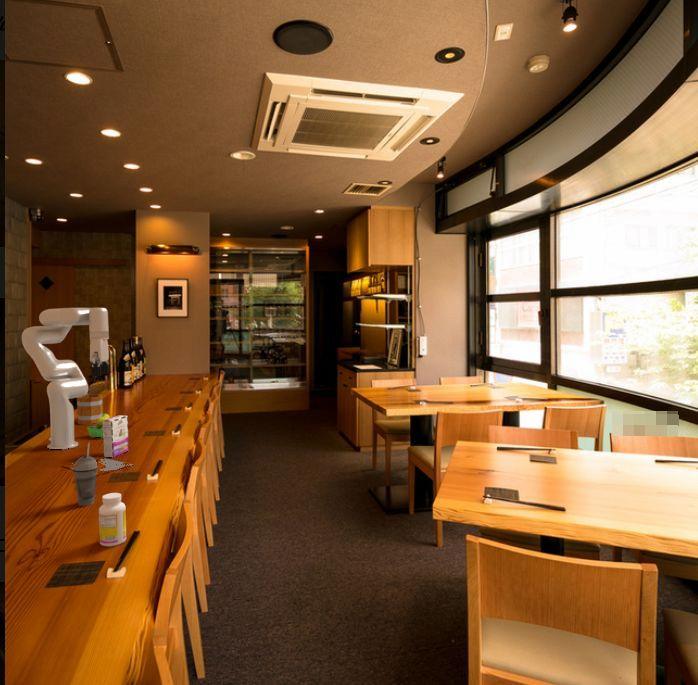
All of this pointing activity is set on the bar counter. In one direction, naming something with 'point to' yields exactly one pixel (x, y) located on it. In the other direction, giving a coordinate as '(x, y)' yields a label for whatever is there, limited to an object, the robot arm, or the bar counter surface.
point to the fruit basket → (98, 427)
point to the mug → (89, 409)
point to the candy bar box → (115, 436)
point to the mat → (111, 464)
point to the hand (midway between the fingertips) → (101, 375)
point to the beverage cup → (85, 479)
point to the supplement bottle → (112, 520)
